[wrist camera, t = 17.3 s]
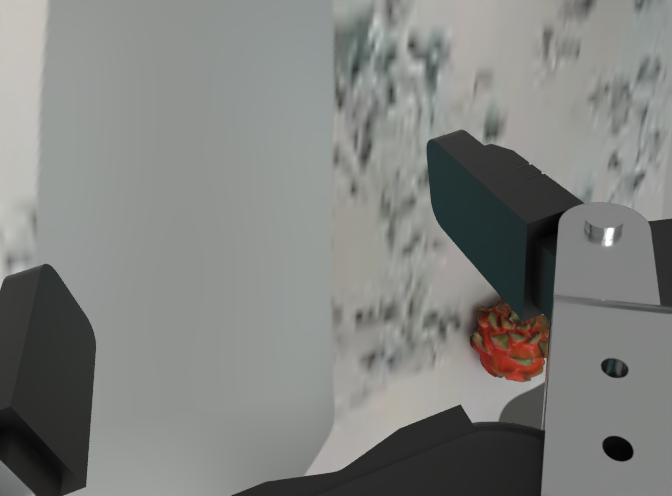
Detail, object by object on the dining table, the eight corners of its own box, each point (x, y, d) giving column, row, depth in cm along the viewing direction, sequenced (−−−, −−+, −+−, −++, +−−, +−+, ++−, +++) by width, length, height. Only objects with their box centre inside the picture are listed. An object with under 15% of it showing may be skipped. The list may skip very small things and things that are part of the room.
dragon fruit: (463, 277, 58) (497, 325, 66) (445, 350, 55) (483, 392, 63) (545, 280, 53) (570, 332, 61) (530, 361, 50) (559, 404, 58)
